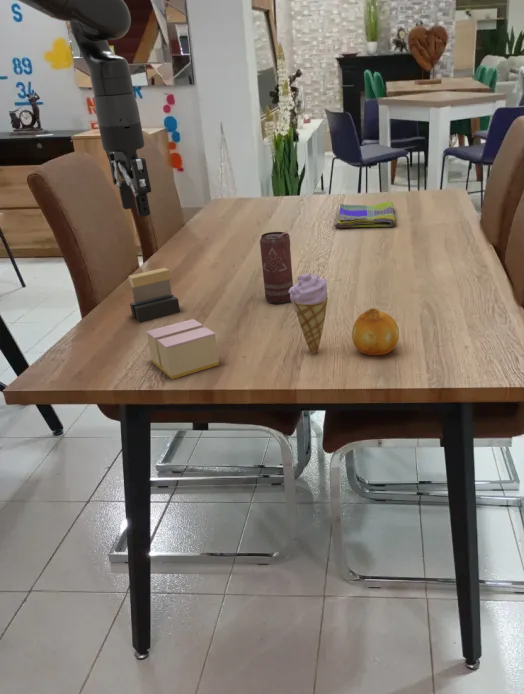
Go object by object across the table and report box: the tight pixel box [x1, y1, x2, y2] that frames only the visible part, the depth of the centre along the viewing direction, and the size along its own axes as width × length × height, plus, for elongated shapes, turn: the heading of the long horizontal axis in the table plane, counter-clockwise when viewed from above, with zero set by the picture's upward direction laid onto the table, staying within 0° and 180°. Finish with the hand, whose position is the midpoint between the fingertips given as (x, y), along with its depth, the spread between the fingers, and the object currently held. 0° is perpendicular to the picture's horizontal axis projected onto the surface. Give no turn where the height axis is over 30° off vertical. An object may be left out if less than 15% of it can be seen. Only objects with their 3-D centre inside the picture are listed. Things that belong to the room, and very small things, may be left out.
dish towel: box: [334, 201, 396, 229], centre depth 206 cm, size 18×24×3 cm
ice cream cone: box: [288, 271, 328, 355], centre depth 120 cm, size 7×6×15 cm
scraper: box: [128, 267, 173, 306], centre depth 143 cm, size 8×2×9 cm, turn 124°
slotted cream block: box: [146, 318, 220, 380], centre depth 121 cm, size 9×9×6 cm
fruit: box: [351, 307, 400, 356], centre depth 121 cm, size 8×8×8 cm
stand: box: [129, 294, 181, 323], centre depth 145 cm, size 9×4×3 cm, turn 123°
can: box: [259, 231, 294, 305], centre depth 146 cm, size 6×6×14 cm
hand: (136, 212), depth 134 cm, fingers open, 8 cm apart
